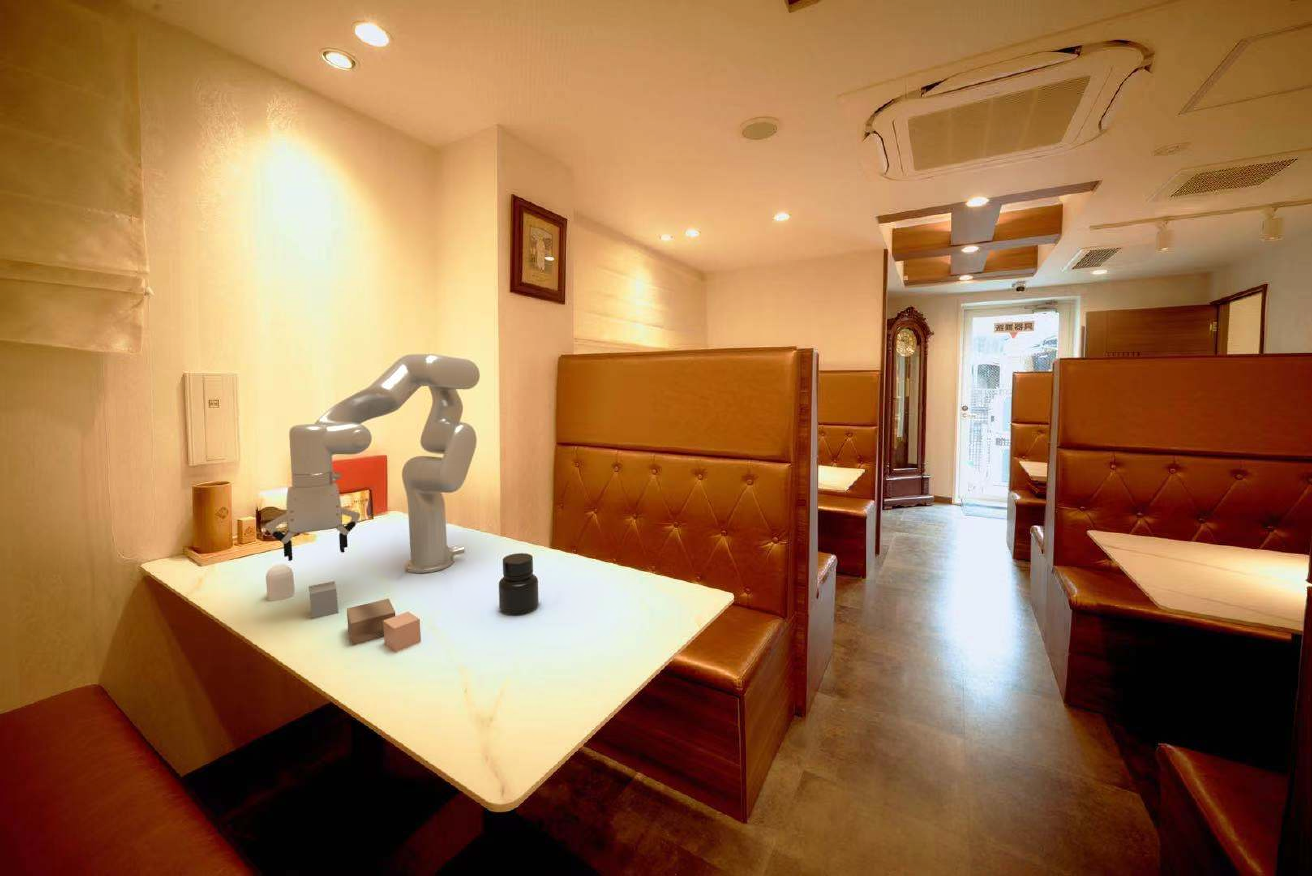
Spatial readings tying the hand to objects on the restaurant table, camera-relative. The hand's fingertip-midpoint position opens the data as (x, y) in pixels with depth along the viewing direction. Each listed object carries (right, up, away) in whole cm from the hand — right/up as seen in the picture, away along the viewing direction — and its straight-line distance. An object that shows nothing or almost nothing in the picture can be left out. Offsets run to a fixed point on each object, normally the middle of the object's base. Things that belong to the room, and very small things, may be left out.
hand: (317, 555), depth 111 cm
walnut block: (+16, -15, -6) cm, 23 cm away
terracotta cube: (+25, -16, -10) cm, 31 cm away
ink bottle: (+44, -14, +5) cm, 47 cm away
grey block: (0, -14, +2) cm, 14 cm away
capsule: (-16, -13, +10) cm, 23 cm away
